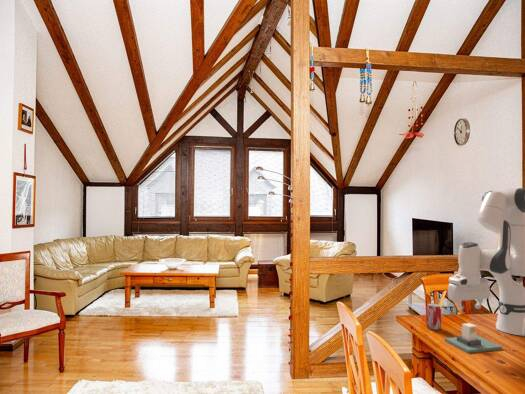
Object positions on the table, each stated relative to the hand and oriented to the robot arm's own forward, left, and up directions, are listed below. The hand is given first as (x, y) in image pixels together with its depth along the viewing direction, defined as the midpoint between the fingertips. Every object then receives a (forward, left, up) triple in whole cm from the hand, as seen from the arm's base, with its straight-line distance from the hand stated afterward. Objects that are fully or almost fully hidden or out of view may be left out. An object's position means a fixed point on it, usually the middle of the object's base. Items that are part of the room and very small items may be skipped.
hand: (469, 309), depth 167 cm
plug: (0, 0, -15) cm, 15 cm away
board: (-2, 0, -16) cm, 16 cm away
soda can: (0, -23, -17) cm, 28 cm away
